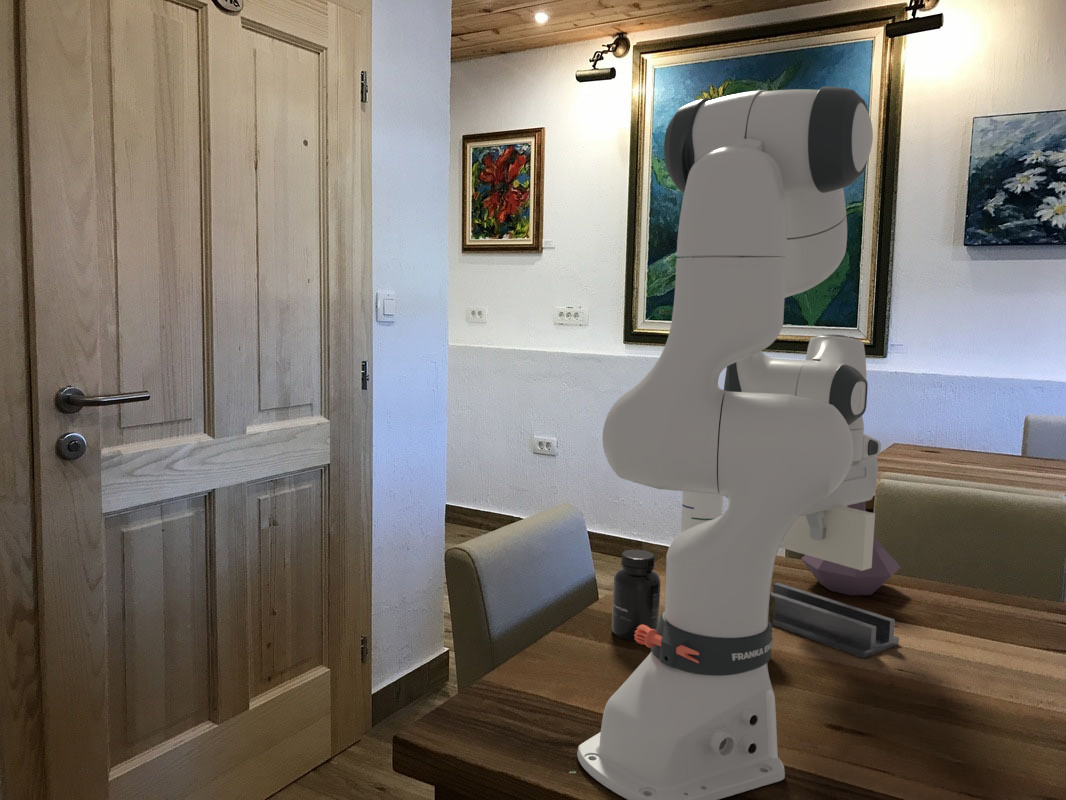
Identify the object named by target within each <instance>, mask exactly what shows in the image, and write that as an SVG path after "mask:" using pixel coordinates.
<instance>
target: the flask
mask: <svg viewBox="0 0 1066 800" xmlns="http://www.w3.org/2000/svg"><path fill="white" fill-rule="evenodd" d="M866 502H867V501H864V502H860V503H856V504H851V505H848V506H847V507H849V508H853V509H858V510H862V511H866V512H867V506H866ZM803 555H804V556H801V558H800V560H801V561H802V562H803V564H804V565H805V566H806V567H807V569H808V570H809V571H810V572H811V574H812V575H813V576H814V577H815V580H816V581H817V582H818V583H819V584H820V585H821V586H822V587H824V588H826V589H827V590H828V591H830V592H834V593H838V594H839V593H840V594H844V595H847V596H848V595H849V596H871V595H873V594H874V593H875V592H876V591H878V589H879V588H881V587H882V586H883V585H884V584H885V583H886V582H887V581H888V580H889V579H890V578H892V576H893V575H894V574H895V573H896V572H897V571H899V570H900V569H901V568H902V567H901V565H900V564H899V563H898V562H897V561H896V560H895V559H894V558H893V557H892V556H891V554H889V552H888V551H887V550H886V549H885V548H884V547H883V546H882V544H881V543H880V542H879V540H878V539H877V537H876V536H875V535H874V539H873V554H872V568H870V569H866V570H863V571H861V570H858V569H854V568H851V567H847V566H844V565H840V564H837V563H833V562H829V561H826V560H822V559H819V558H815V557H812V556H808V555H805V554H803Z"/></svg>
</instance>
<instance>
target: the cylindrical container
mask: <svg viewBox="0 0 1066 800" xmlns="http://www.w3.org/2000/svg"><path fill="white" fill-rule="evenodd" d="M681 501H682V502H681V523H680V524H681V525H680V534H681V533H682V532H684V531H686V530H688V529H690V528H692V527H694V526H696V525H699V524H701V523H704V522H707V521H710V520H712V519H715V518H717V517H719V516H720V515H722V514H723V504H724V496H722V495H720V494H711V493H699V492H687V491H682V500H681Z"/></svg>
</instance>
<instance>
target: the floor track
mask: <svg viewBox="0 0 1066 800" xmlns="http://www.w3.org/2000/svg"><path fill="white" fill-rule="evenodd" d="M770 593H771V595H772V598H773V597H775V603H776V601H777V604H776V609H775V615H774V621H773V626H772V627H776V628H779V629H782V630H785V631H787V632H790V633H793V634H795V635H798V636H800V637H804V638H806V639H809V640H812V641H814V642H817V643H820V644H823V645H826V646H828V647H831V648H834V649H836V650H839V651H843V653H844V652H845V653H848V654H850V655H853V656H856V657H859V658H861V659H863V660H864V659H867V658H869V657H871V656H874V655H876V654H878V653H881V652H883V651H886V650H887V649H890V648H892V647H895V646H897V645H899V644H900V643H899V641H900V637H899V636H897V635H894V634H895V623H896V621H895V619H894V618H891V617H887V616H885V615H882V614H879V613H875V612H873V611H869V610H866V609H863V608H860V607H856V606H853V605H850V604H848V603H844V602H841V601H838V600H834V599H831V598H829V597H825V596H822V595H819V594H816V593H813V592H809V591H806V590H803V589H800V588H797V587H793V586H790V585H788V584H784V583H780V582H775V583H773V584H772V591H770Z"/></svg>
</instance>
